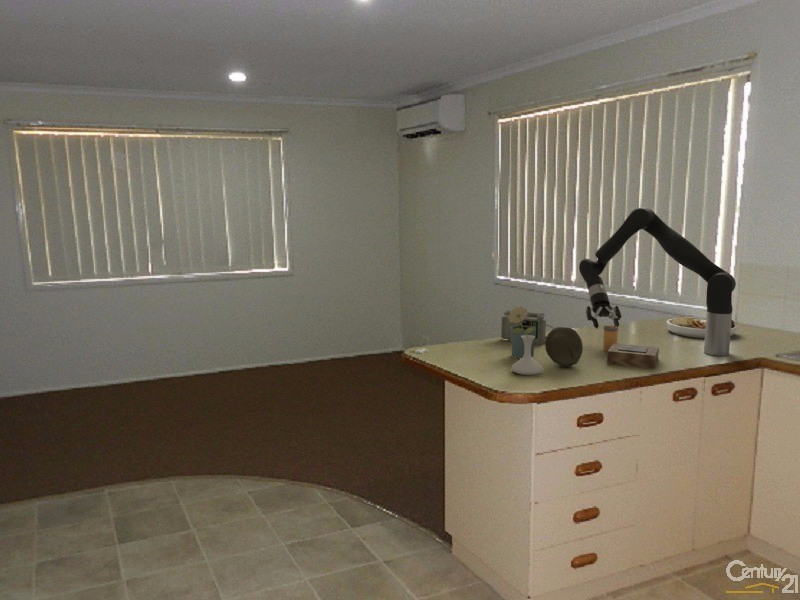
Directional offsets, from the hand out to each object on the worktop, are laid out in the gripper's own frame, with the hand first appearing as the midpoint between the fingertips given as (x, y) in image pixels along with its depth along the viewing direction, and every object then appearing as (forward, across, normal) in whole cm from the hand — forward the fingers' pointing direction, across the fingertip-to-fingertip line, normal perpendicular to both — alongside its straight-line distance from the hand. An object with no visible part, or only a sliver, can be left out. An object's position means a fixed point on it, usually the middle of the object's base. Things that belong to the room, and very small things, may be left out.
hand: (607, 327), depth 267 cm
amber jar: (+9, 0, +3) cm, 10 cm away
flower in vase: (+34, -45, -21) cm, 60 cm away
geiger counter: (-3, -30, +16) cm, 34 cm away
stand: (+23, +2, -10) cm, 25 cm away
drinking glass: (+15, -40, -3) cm, 43 cm away
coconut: (+27, -28, -14) cm, 41 cm away
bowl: (-13, +56, +26) cm, 64 cm away
